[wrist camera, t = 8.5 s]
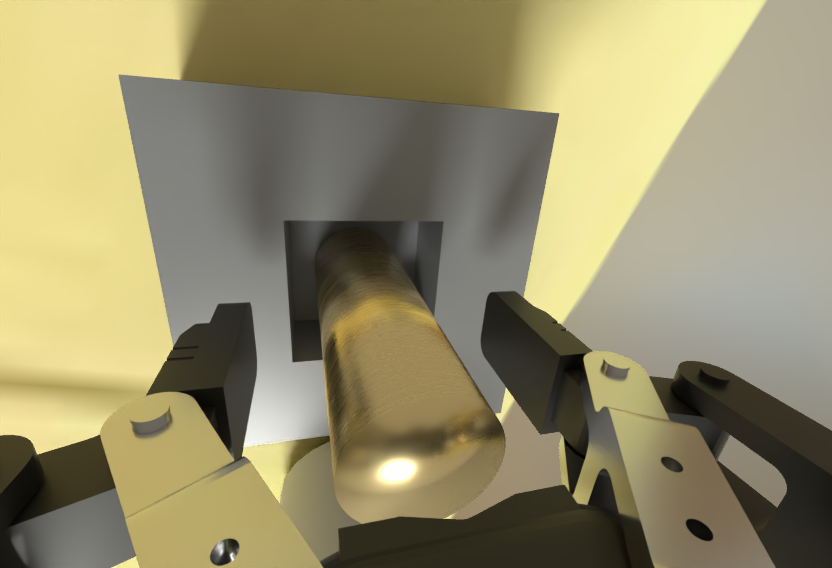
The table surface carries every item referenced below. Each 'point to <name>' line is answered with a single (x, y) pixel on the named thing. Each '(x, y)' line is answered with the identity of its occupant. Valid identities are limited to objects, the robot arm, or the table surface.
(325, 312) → the peg
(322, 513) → the can
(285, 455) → the table surface
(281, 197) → the socket
